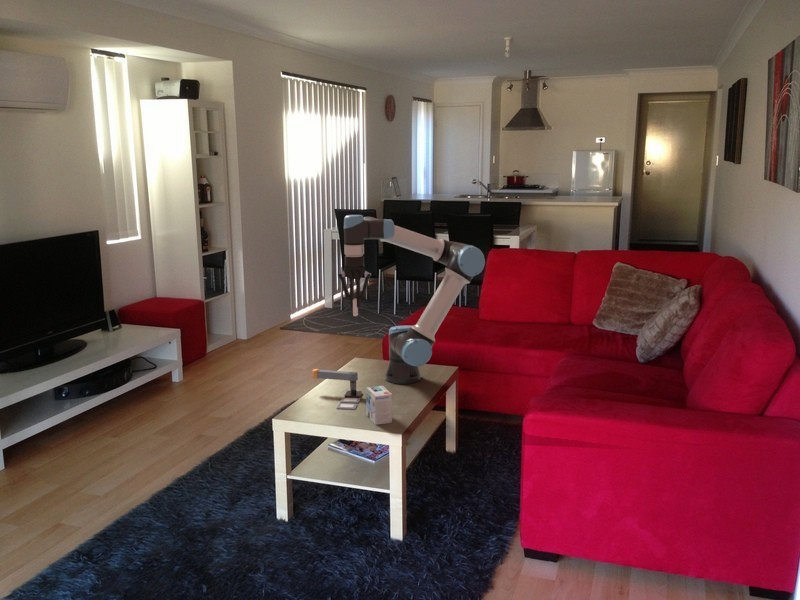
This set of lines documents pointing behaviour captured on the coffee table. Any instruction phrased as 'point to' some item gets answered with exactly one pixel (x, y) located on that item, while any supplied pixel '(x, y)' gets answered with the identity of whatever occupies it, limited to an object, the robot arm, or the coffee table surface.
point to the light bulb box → (379, 405)
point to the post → (353, 391)
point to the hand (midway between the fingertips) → (355, 315)
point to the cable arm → (335, 375)
